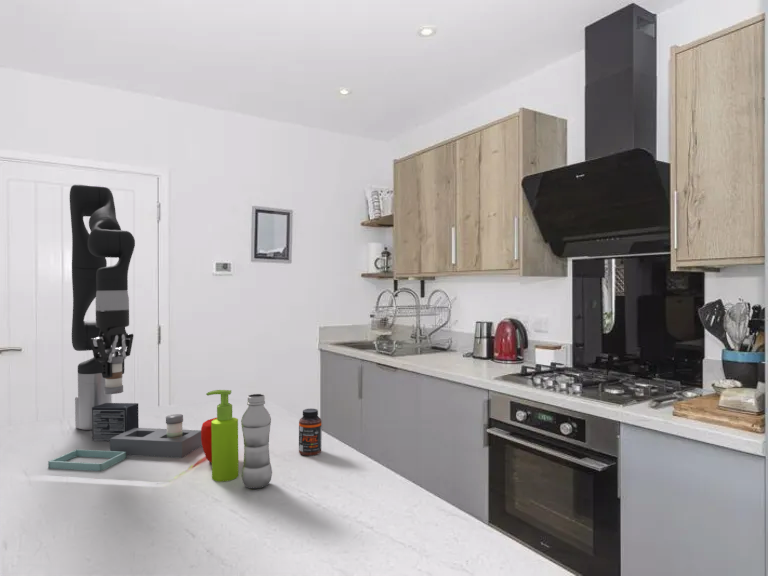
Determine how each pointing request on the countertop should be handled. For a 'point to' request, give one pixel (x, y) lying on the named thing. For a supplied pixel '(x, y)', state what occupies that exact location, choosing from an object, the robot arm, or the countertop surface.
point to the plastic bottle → (256, 443)
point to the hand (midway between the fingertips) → (113, 375)
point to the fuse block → (158, 440)
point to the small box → (113, 420)
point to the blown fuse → (115, 377)
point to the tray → (61, 463)
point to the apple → (207, 439)
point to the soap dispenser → (224, 440)
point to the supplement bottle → (310, 433)
